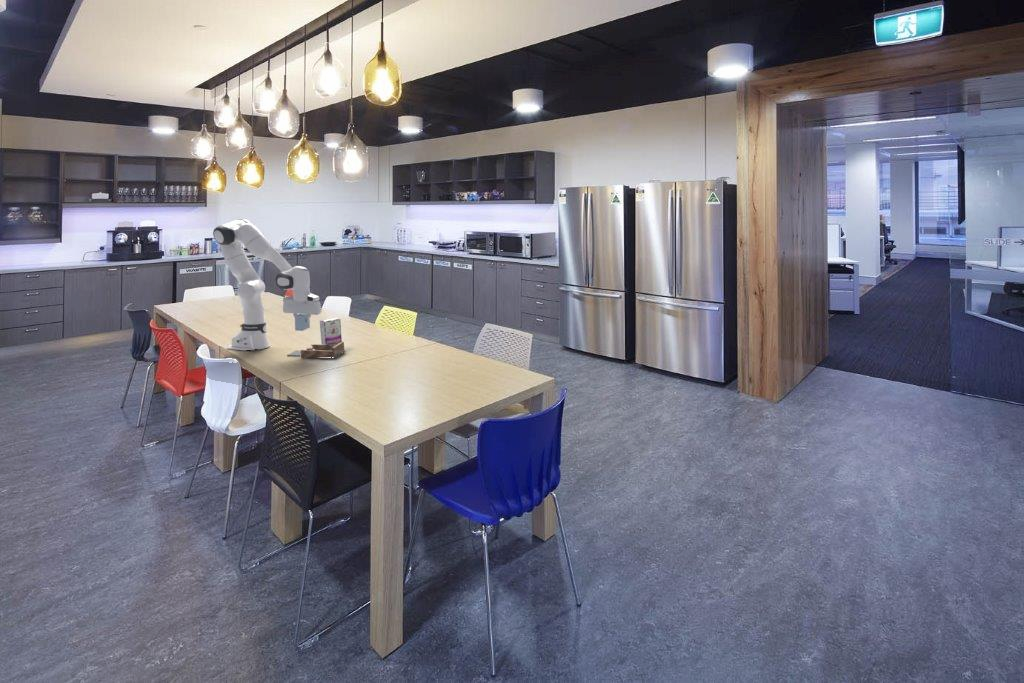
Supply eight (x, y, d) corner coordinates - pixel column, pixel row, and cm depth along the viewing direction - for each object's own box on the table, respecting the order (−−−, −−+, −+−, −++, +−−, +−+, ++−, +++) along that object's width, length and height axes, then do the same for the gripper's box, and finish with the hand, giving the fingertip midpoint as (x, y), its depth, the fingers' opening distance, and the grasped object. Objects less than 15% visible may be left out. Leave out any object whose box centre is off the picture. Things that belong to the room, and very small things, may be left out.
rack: (301, 357, 314) (300, 346, 313) (312, 351, 329) (311, 340, 328) (334, 358, 313) (334, 347, 312) (344, 352, 328) (343, 341, 326)
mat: (287, 356, 317) (287, 355, 317) (296, 351, 328) (296, 350, 327) (299, 356, 316) (299, 355, 316) (308, 351, 327) (308, 350, 327)
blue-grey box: (295, 330, 315) (294, 315, 313) (302, 327, 324) (302, 312, 323) (302, 330, 314) (302, 316, 313) (309, 327, 324) (309, 313, 322)
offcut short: (307, 352, 318) (306, 348, 317) (306, 349, 323) (306, 346, 323) (312, 351, 319) (312, 348, 318) (312, 349, 324) (312, 345, 324)
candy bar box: (337, 345, 345) (335, 317, 342) (342, 346, 342) (340, 318, 339) (320, 348, 336) (319, 320, 333) (326, 349, 333) (324, 321, 330)
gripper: (280, 296, 313) (281, 321, 316) (317, 298, 312) (318, 323, 315) (285, 294, 319) (286, 319, 322) (322, 297, 318) (322, 321, 321)
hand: (302, 321), depth 318 cm, fingers closed on blue-grey box, 4 cm apart
